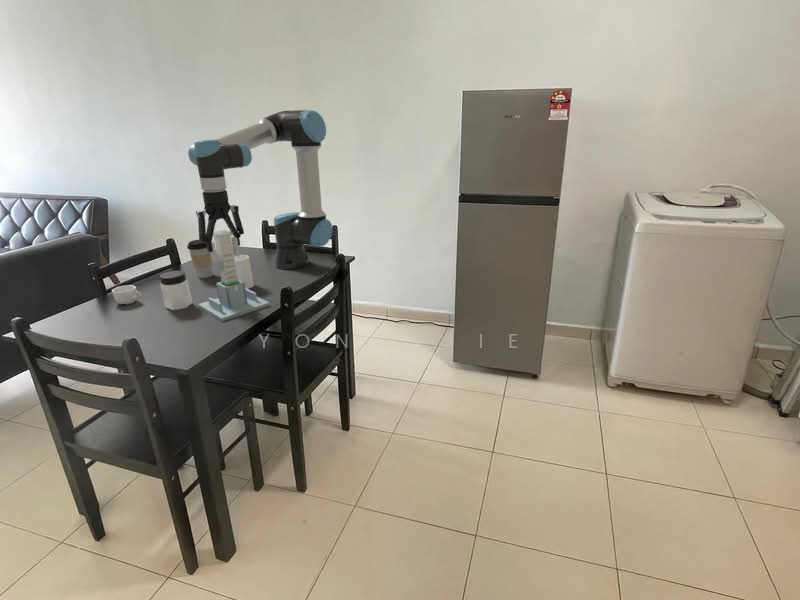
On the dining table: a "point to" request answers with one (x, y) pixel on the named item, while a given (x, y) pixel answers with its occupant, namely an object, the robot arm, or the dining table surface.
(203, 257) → the coffee cup
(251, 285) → the mug
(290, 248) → the robot arm
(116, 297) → the teacup
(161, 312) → the dining table surface
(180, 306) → the jar
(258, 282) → the dining table surface
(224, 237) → the column
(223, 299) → the stand base
